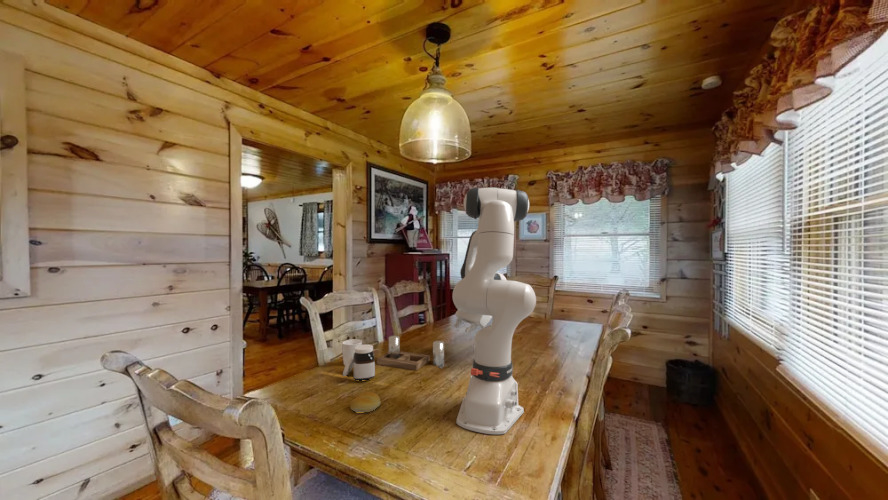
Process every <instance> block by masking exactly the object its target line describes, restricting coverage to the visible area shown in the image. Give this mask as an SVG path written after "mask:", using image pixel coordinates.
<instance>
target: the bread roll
mask: <svg viewBox="0 0 888 500" xmlns="http://www.w3.org/2000/svg"><path fill="white" fill-rule="evenodd" d="M381 404H382V403H381V398H380V396H379V395H378V394H377V393H375V392H371V391H365V392H362V393H361V394H359V395H358V396H357V397H355V398H354V399H352V401H351V402H350V405H349V407H350V410H351V411H352V410H353V411H355V412H369V411H373V410H374V411H376V410H377V409H378V408H379V407H380V405H381ZM377 407H378V408H377ZM376 408H377V409H376ZM375 409H376V410H375ZM353 411H352V412H353ZM374 411H373V412H374Z"/></svg>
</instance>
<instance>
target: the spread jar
mask: <svg viewBox="0 0 888 500" xmlns="http://www.w3.org/2000/svg"><path fill="white" fill-rule="evenodd" d="M354 352H355V353H354V355H353V359H352V358H350V359H349V360H348V362H347V364H346V366H345V365H344V368H343V372H342V376H343V377H344V376H347V375H348V376H349V373H350V372H351V371H352V370H353V371H352V372H353V373H352V374H353V377H352V378H353V380H354V379H355V380H354V381H356V380H359V381H362V380H369V379H372V378H375V375H376V370H375V369H376V367H375V366H376V363H375V361H376V360H375V359H376V358H375V353H374V345H372V344H362V345H358V346H356V347H355V348H354ZM369 381H370V380H369Z"/></svg>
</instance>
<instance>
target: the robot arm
mask: <svg viewBox="0 0 888 500" xmlns="http://www.w3.org/2000/svg"><path fill="white" fill-rule="evenodd" d="M463 208H464V211H465V214H466V215H467V216H468V217H469V218H471V219H474V220H477V219H478V224H477V229H476V230H474V231H473V232H472V234H471V235H470V237H469V238H468V239H469V240H468V242H467V248H466V252H465V256H464V259H463V263H462V265H461V267H460V268H461V269H460V273H459V275H460V278H461V279H460V280H459V281H458V282H457V283H456V284H455V286H454V288H453V291H452V294H451V295H452V301H453V304H454V306H455V308H456V309H457V311H456V312H455V314H454V315H455V317H456V321H455V324H454V325H453V327H454V328H455V329H457V330H458V329H459V328H460V326H461V323H462V322H466V323H468V324H470V326H468V327H466V329H465V330H464V332H466V334H468V335H469V334H471V333H472V332H473V331H474V330H475V329H477V327H478V328H481V329H479V330H478V331H477V332H476V334H475V335H474V340H473V341H474V345H473V346H474V347H473V348H474V352H473V353H474V354H473V355H474V357H473V361H472V364H471V365H472V366H471V369H470V375H469V383H468V386H467V390H466V392H465V396H464V397H463V399H462V402H461V405H460V408H459V411H458V414H457V417H456V422H455V424H457V425H458V426H459V427H461V428H463V429H465V430H468V431H472V432H476V433H481V434H487V435H504V434H506V433H507V432H509V430H510V429H511V428H512V427H513V425H514V424H516V422H517V421H518V420H519V419H520V417H521V416H522V415H523V414H524V413H525V411H524V407H523V406H522V405H519V393H518V392H519V391H518V390H519V389H518V388H519V387H518V382H517V381H516V380H515V378H514V377H513V369H514V367H513V366H514V365H513V361H512V344H513V343H512V342H513V335H514V334H515V332H516V331H515V330H516V328H517V327H518V325H520V323H521V322H522V321H523V320H525V319H527V317H530V316H531V314H532V313H533V312H534V311H535V308H536V304H537V296H536V293H535V290H534V289H533V287H532V286H531V285H530V284H529V283H526V282H525V283H524V282H521V281H516V280H508V279H507V278H506V276H505V275H504V274H502V273H501V272H498V271H499V270H501V269H503V268H506V267H507V266H508V265H510V263H511V262H512V261H513V259H514V248H515V247H514V243H515V222H517V221H520V222H521V221H522V220H524V219H525V218H526V217H527V215H528V212H529V210H530V200H529V196H528V194H527V192H525V191H523V190H519V189H516V190H514V189H508V188H500V187H471V188H469V189H468V190H467V191H466V194H465V196H464V198H463ZM491 319H492V323H491V324H490V325H489V322H490V321H491Z"/></svg>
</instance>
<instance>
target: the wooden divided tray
mask: <svg viewBox="0 0 888 500" xmlns="http://www.w3.org/2000/svg"><path fill="white" fill-rule="evenodd" d="M430 359H431V357H430V354H423V353H415V352H409V351H408V352H407V351H401V350H400V358H398V359H393V358H389V351H388V352H386V353H385V354H383V355H381V356H379V357H378V358H376V365H380V366H385V367H393V368H397V369H404V370H410V371H411V370H412V371H418V370H420V369H421V368H422V367H423V366H425V365H426V364H427V363H429V362H430Z"/></svg>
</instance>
